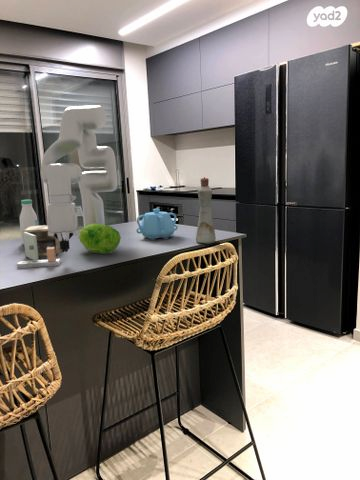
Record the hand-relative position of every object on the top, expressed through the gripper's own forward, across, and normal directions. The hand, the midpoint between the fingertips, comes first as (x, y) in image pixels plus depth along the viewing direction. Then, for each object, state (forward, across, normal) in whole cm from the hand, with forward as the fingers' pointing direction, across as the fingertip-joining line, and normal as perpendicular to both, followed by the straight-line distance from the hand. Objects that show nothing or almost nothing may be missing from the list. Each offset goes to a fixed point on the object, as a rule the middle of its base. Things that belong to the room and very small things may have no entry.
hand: (65, 251), depth 139 cm
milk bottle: (+4, +21, -44) cm, 49 cm away
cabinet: (+4, +11, -22) cm, 25 cm away
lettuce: (+5, -11, -15) cm, 19 cm away
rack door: (+4, +15, -11) cm, 19 cm away
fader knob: (+3, +5, -1) cm, 6 cm away
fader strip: (+5, +9, -1) cm, 11 cm away
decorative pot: (+4, -37, -40) cm, 54 cm away
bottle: (+4, -56, -22) cm, 60 cm away
